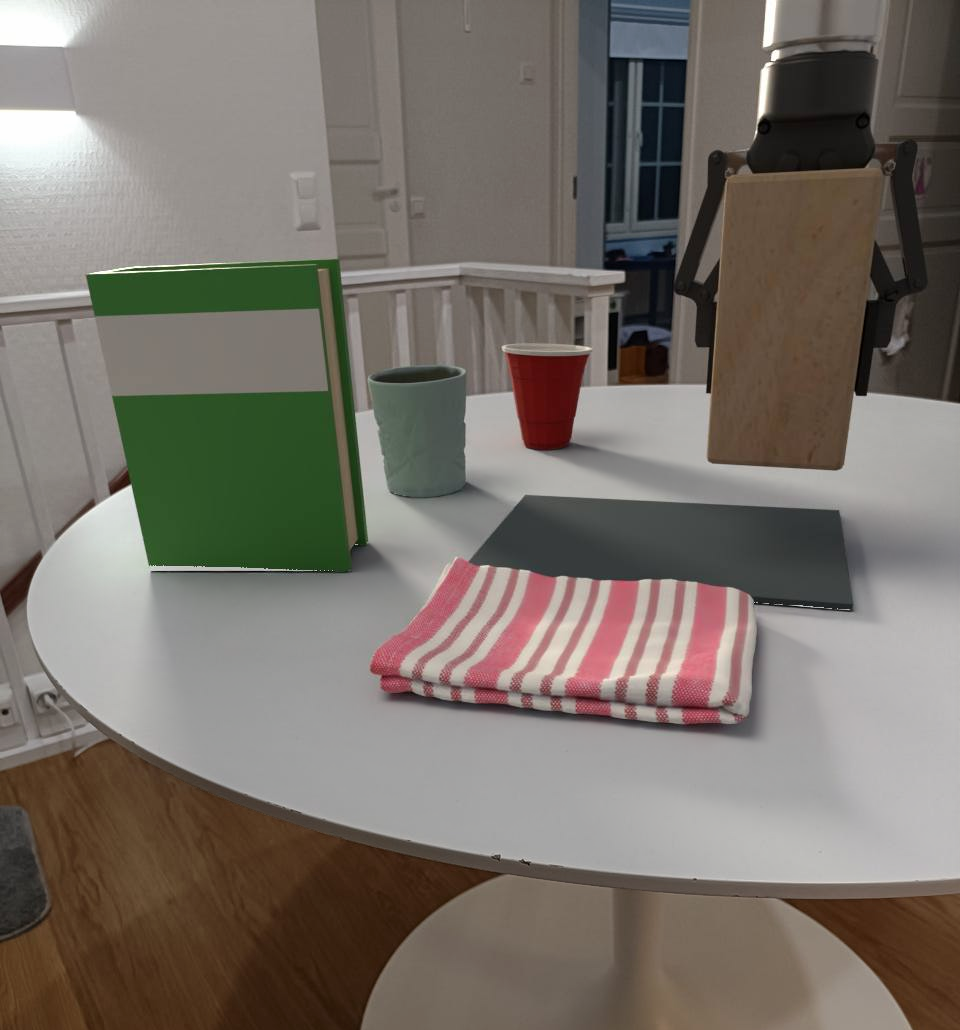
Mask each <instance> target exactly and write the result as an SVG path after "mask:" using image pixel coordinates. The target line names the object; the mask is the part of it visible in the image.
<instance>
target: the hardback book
mask: <svg viewBox="0 0 960 1030" xmlns="http://www.w3.org/2000/svg"><path fill="white" fill-rule="evenodd" d="M341 272H342V271H341V264H340V258H338V257H337V258H316V259H294V260H293V259H291V260H269V261H267V260H266V261H245V262H243V261H242V262H221V263H217V262H216V263H196V264H195V263H193V264H173V265H171V264H170V265H169V264H168V265H147V266H146V265H145V266H128V267H122V268H116V269H109V270H103V271H97V272H91V273H86V274H85V279H86V283H87V288H88V292H89V296H90V302H91V307H92V310H93V315H94V319H95V320H94V321H95V324H96V328H97V333H98V339H99V342H100V347H101V352H102V356H103V360H104V364H105V365H104V366H105V370H106V374H107V380H108V385H109V389H110V393H111V398H112V403H113V407H114V412H115V416H116V417H115V418H116V421H117V427H118V430H119V435H120V439H121V444H122V449H123V453H124V457H125V462H126V463H125V464H126V467H127V472H128V476H129V480H130V486H131V489H132V494H133V500H134V503H135V508H136V513H137V518H138V522H139V526H140V531H141V537H142V541H143V545H144V550H145V554H146V560H147V563H148V567H149V566H150V565H151V566H153V565H154V566H155V565H156V566H163V565H164V566H194V567H195V566H196V567H197V566H202V567H203V566H205V567H241V568H242V567H244V568H246V567H247V568H264V569H266V568H268V569H286V570H287V569H289V570H292V569H293V570H296V569H297V570H313V571H314V570H317V571H320V570H321V571H324V570H325V571H328V570H329V571H332V570H333V571H349V570H350V569H351V570H352V568H351V567H352V560H351V559H352V558H351V550H352V549H353V547H354V546H356V545H355V544H358V545H357V546H367V545H368V543H369V535H368V525H367V516H366V507H365V506H366V505H365V495H364V488H363V486H364V485H363V477H362V468H361V467H362V466H361V457H360V447H359V437H358V430H357V420H356V419H357V418H356V408H355V401H354V399H355V398H354V390H353V381H352V371H351V361H350V350H349V342H348V331H347V323H346V321H347V320H346V311H345V301H344V293H343V292H344V291H343V284H342V283H343V282H342V274H341ZM367 542H368V543H367ZM366 544H367V545H366ZM351 570H350V571H351ZM350 571H349V572H350Z"/></svg>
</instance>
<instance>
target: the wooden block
mask: <svg viewBox="0 0 960 1030" xmlns="http://www.w3.org/2000/svg"><path fill="white" fill-rule="evenodd" d="M883 182H884V175H883V172H882V170H881V169H880V168H878V167H865V168H860V169H840V170H820V171H800V172H780V173H760V174H753V173H743V174H738V175H732V176H730V177H728V179H727V181H726V183H725V193H724V197H723V213H722V214H723V215H722V225H721V226H722V228H721V242H720V256H719V258H720V269H719V284H718V292H717V298H716V299H717V300H716V302H717V313H716V327H715V342H714V356H713V370H712V385H711V394H710V400H709V401H710V402H709V415H708V429H707V431H708V432H707V443H706V444H707V445H706V459H707V462H708V463H710V464H713V465H729V466H730V465H731V466H745V467H746V466H748V467H764V468H765V467H766V468H781V469H799V470H817V471H820V470H821V471H835V472H836V471H840V470H842V469H843V467H844V466H845V460H846V455H847V454H846V453H847V447H848V438H849V431H850V424H851V416H852V409H853V403H854V402H853V401H854V394H855V391H854V388H855V381H856V374H857V366H858V359H859V352H860V344H861V337H862V330H863V322H864V315H865V308H866V300H868V293H869V292H868V291H869V284H870V279H871V278H870V271H871V264H872V256H873V249H874V242H875V240H876V233H877V226H878V220H879V218H878V217H879V212H880V204H881V197H882V190H883V189H882V188H883V184H884V183H883Z"/></svg>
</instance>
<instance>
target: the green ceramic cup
mask: <svg viewBox="0 0 960 1030" xmlns="http://www.w3.org/2000/svg"><path fill="white" fill-rule="evenodd" d="M467 372H468V371H467V370H466V369H465V368H463V367H460V366H455V365H449V364H448V365H446V364H420V365H419V364H418V365H410V366H409V365H408V366H400V367H393V368H388V369H383V370H380V371H377V372H373V373H371V374H370V375H368V377H367V385H368V389H369V390H368V391H369V395H370V399H371V405H372V410H373V415H374V419H375V421H376V425H377V426H378V429H377V437H378V441H379V446H380V452H381V455H382V456H383V462H382V463H383V470H384V475H385V482H386V487H387V490H388V491H389V490H390V491H391V492H393V493H396V494H398V495H397V496H399V495H405V496H411V497H410V498H433V497H442V496H447V495H451V494H454V493H455V492H458V491H460V490H462V489H463V488H464V487H465V485H466V481H467V473H466V472H467V471H466V470H467V469H466V468H467V466H466V461H467V460H466V454H465V448H466V443H467V442H466V441H467V439H466V435H467V432H466V431H467V429H466V428H467V426H466V422H465V417H466V412H467V411H466V410H467V409H466V408H467V405H466V404H467V375H468V373H467ZM390 491H389V492H390ZM391 492H390V493H391ZM393 493H392V494H393Z"/></svg>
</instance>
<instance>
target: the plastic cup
mask: <svg viewBox="0 0 960 1030" xmlns="http://www.w3.org/2000/svg"><path fill="white" fill-rule="evenodd" d="M501 350H502V351H503V352H504V355H505V358H506V364H507V368H508V373H509V374H510V380H511V382H510V383H511V387H512V392H513V399H514V404H515V410H516V416H517V419H518V423H519V429H520V435H521V440H522V443H523V445H524V447H526V448H527V449H533V450H542V451H544V450H545V451H546V450H547V451H548V450H549V451H550V450H557V449H564V448H566V447H568V446H570V444H571V439H572V436H573V430H574V424H575V423H574V422H575V417H576V414H577V409H578V404H579V398H580V393H581V388H582V387H581V386H582V381H583V376H584V373H585V370H586V365H587V363H588V358H589V357H590V355H591V354H592V353H593V351H594V348H593V347H589V346H585V345H577V344H567V343H566V344H565V343H510V344H505V345H502V346H501Z"/></svg>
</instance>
